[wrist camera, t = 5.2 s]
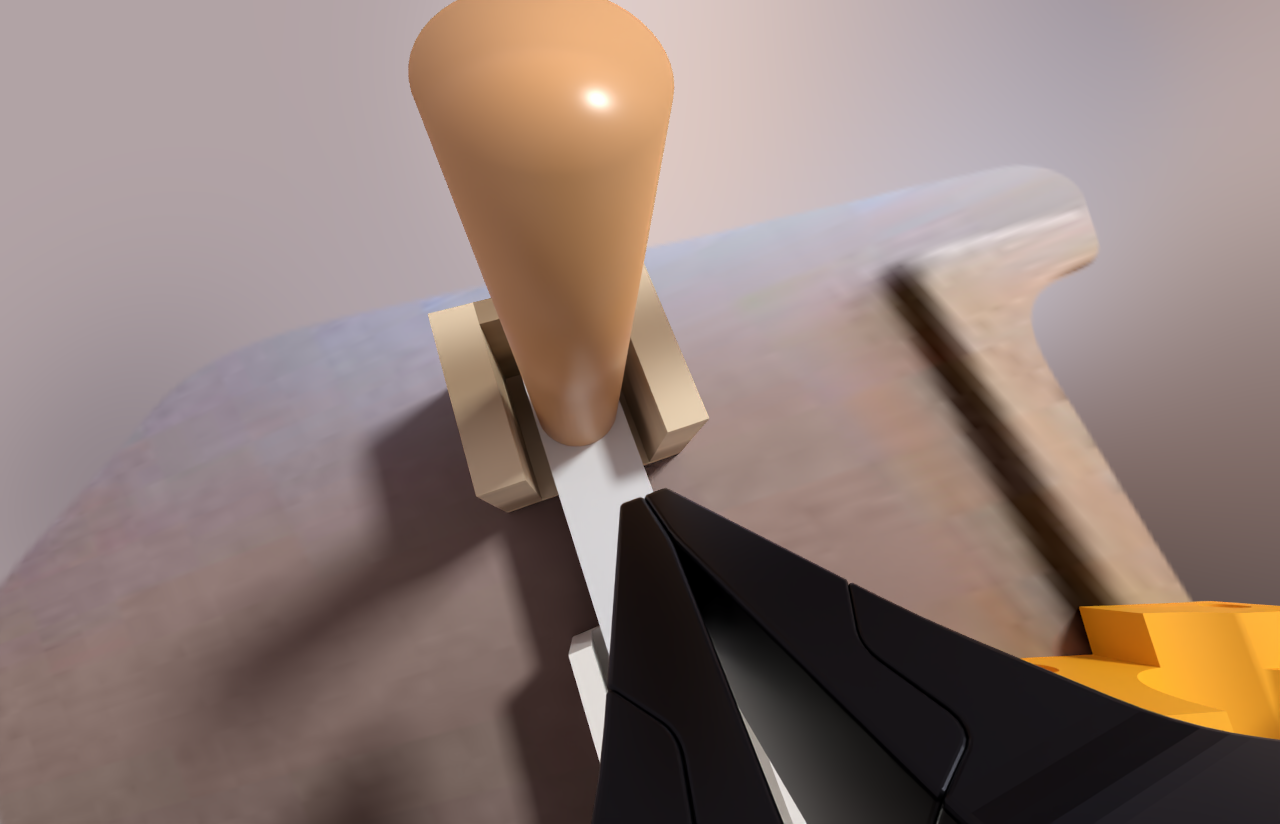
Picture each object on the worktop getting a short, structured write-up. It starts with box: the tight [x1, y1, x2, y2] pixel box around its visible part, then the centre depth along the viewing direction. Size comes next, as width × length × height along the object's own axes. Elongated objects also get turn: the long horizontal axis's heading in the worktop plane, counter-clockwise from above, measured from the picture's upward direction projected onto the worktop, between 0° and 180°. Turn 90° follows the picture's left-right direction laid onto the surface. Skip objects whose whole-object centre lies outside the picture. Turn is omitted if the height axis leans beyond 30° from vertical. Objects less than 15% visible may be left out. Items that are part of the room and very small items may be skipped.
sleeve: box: [569, 626, 807, 824], centre depth 14 cm, size 12×5×3 cm, turn 20°
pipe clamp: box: [1020, 601, 1280, 740], centre depth 15 cm, size 12×4×6 cm, turn 91°
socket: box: [428, 264, 709, 513], centre depth 16 cm, size 6×7×5 cm
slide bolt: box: [409, 0, 674, 653], centre depth 10 cm, size 12×3×14 cm, turn 20°
